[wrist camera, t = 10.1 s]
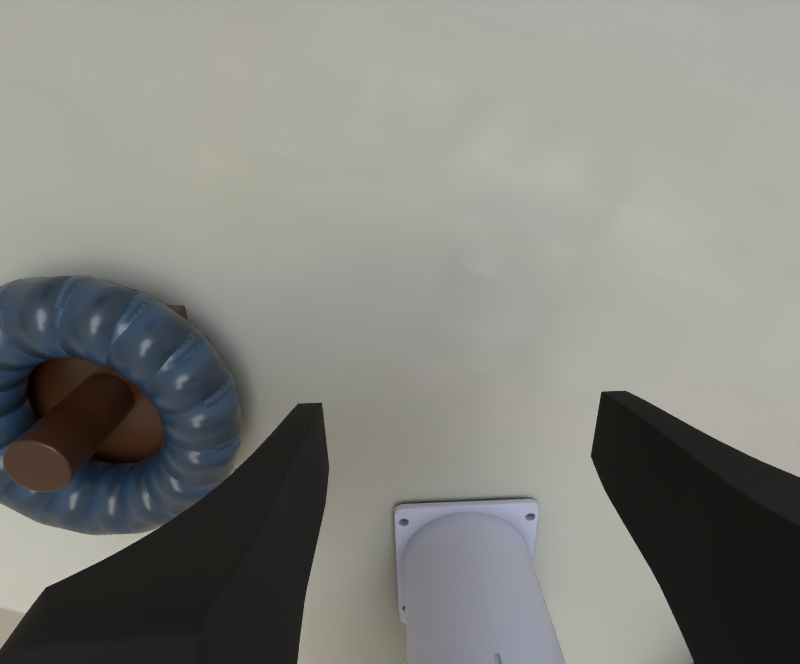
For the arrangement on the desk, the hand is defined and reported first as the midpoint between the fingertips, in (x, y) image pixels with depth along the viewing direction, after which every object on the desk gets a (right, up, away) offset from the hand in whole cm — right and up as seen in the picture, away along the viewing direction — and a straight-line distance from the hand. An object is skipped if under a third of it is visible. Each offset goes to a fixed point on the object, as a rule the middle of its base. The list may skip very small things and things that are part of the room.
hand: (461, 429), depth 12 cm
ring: (-15, -1, +8) cm, 17 cm away
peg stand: (-15, 0, +11) cm, 19 cm away
